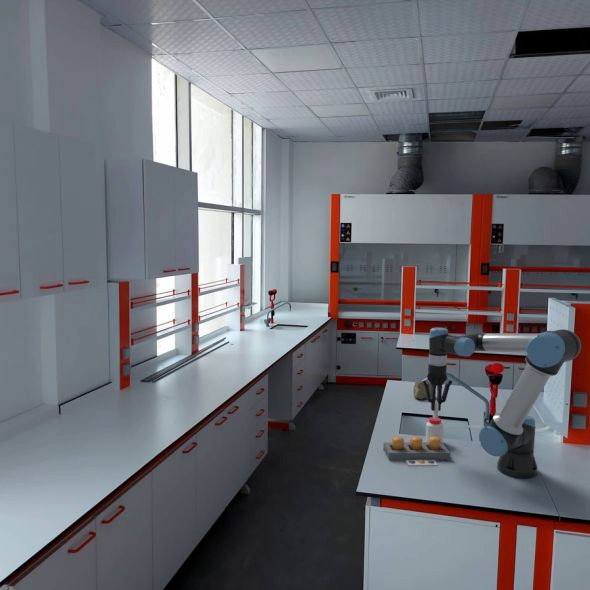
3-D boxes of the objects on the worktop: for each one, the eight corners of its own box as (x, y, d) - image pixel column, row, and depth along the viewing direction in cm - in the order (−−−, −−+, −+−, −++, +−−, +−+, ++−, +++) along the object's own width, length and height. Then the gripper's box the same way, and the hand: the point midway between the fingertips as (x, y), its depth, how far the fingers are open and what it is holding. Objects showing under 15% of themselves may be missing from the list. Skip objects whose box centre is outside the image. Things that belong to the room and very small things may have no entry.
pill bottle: (430, 437, 260) (431, 415, 259) (445, 441, 255) (446, 418, 254) (422, 442, 254) (423, 419, 253) (438, 446, 249) (439, 423, 248)
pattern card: (434, 460, 234) (434, 459, 234) (437, 465, 229) (437, 464, 229) (405, 460, 233) (405, 459, 233) (408, 465, 228) (408, 464, 228)
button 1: (402, 446, 243) (402, 436, 242) (404, 450, 238) (405, 440, 237) (390, 446, 242) (391, 436, 242) (393, 451, 237) (393, 440, 237)
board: (441, 448, 247) (441, 442, 247) (449, 459, 235) (450, 452, 235) (383, 449, 246) (383, 442, 246) (388, 459, 234) (388, 453, 234)
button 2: (438, 446, 243) (438, 436, 243) (441, 450, 238) (442, 440, 238) (427, 446, 243) (427, 436, 242) (430, 450, 238) (430, 440, 238)
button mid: (420, 446, 243) (420, 436, 242) (423, 450, 238) (423, 440, 237) (408, 446, 243) (409, 436, 242) (411, 450, 238) (412, 440, 237)
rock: (410, 384, 332) (415, 379, 323) (431, 385, 332) (436, 380, 323) (411, 402, 327) (416, 397, 318) (432, 403, 328) (437, 399, 319)
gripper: (450, 362, 241) (447, 415, 243) (420, 362, 240) (418, 415, 243) (455, 366, 233) (453, 420, 236) (424, 366, 233) (422, 420, 235)
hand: (435, 417), depth 239 cm, fingers closed
